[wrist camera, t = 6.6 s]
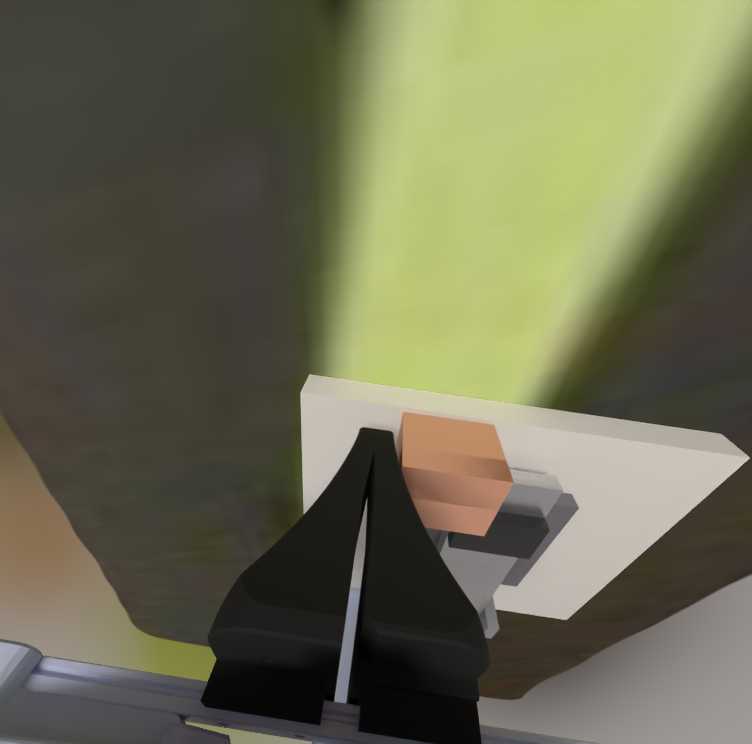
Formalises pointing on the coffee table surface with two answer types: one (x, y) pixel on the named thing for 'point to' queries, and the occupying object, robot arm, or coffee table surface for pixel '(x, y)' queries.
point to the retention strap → (501, 537)
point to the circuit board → (545, 456)
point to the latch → (453, 472)
